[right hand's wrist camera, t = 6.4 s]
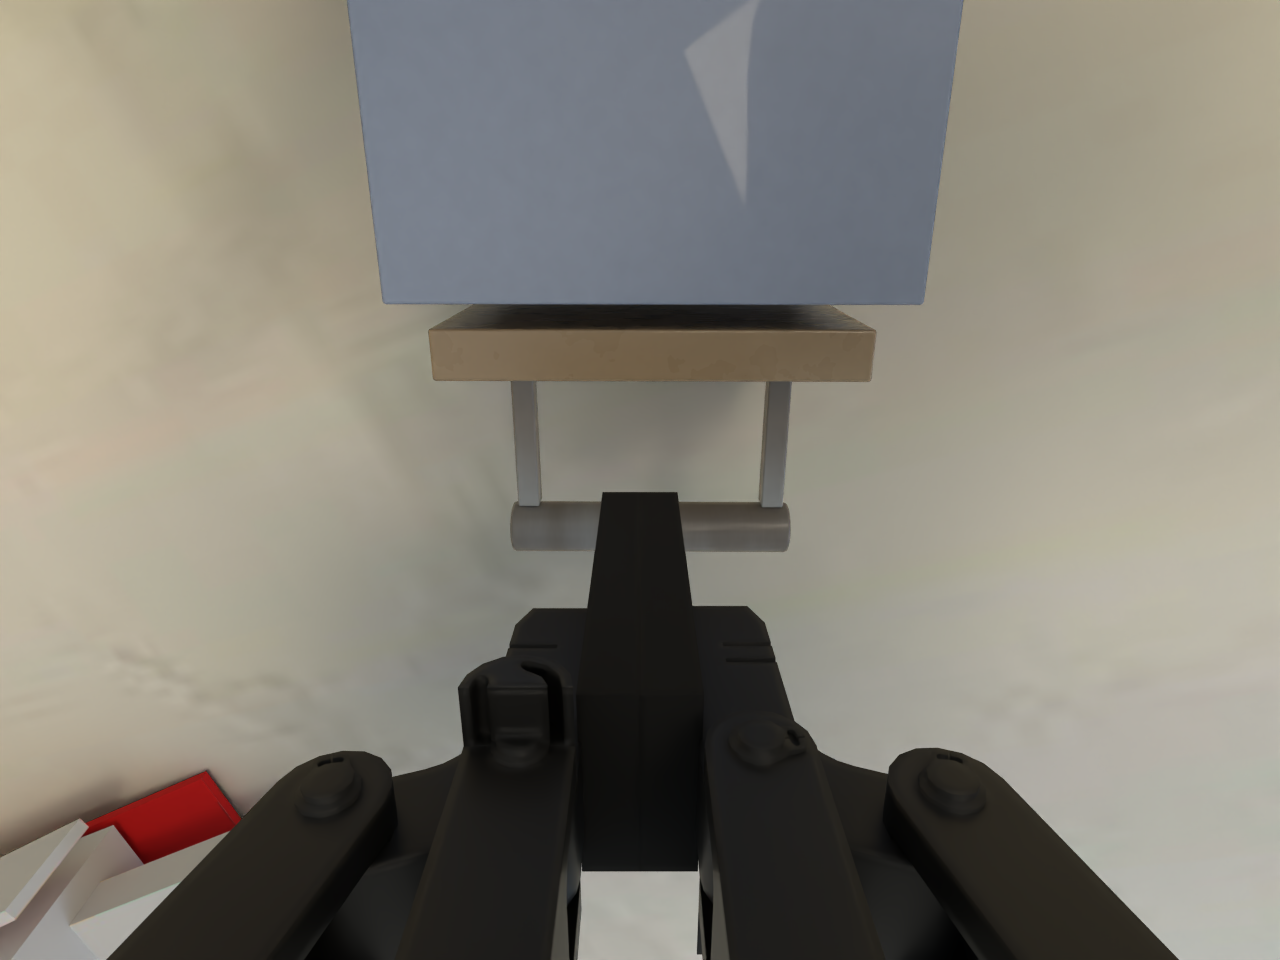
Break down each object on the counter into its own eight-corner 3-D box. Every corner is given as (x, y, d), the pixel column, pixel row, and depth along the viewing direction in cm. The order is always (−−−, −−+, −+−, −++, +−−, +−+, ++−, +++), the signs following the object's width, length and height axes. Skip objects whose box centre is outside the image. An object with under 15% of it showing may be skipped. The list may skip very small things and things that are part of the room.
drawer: (783, 469, 28) (848, 593, 19) (515, 468, 28) (453, 591, 19) (845, -379, 19) (1012, -873, 11) (462, -376, 20) (308, -864, 11)
